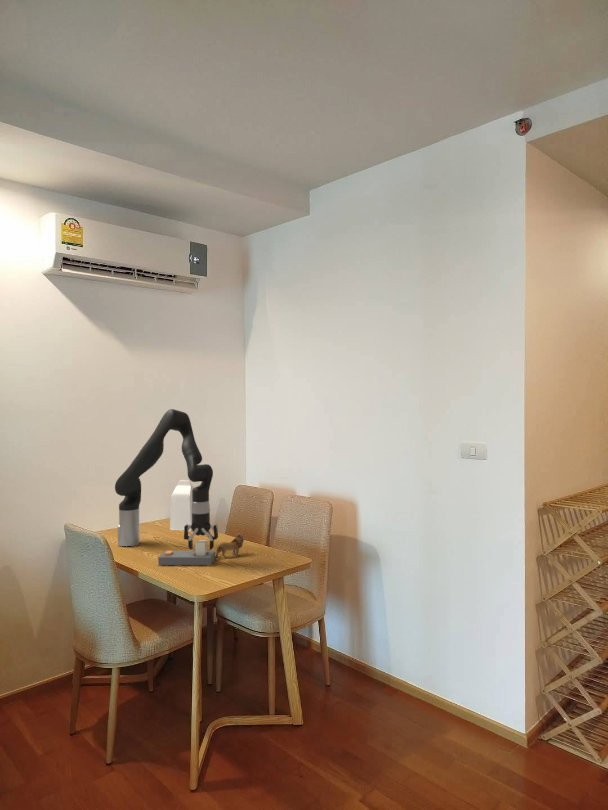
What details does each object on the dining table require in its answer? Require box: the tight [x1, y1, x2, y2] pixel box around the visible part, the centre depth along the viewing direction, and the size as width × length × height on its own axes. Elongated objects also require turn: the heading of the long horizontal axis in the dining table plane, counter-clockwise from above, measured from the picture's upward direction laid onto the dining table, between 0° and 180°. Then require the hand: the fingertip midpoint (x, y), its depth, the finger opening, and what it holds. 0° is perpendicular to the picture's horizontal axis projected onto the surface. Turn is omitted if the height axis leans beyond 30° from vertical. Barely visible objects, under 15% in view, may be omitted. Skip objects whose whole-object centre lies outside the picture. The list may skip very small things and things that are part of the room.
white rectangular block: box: [195, 539, 208, 556], centre depth 230 cm, size 4×4×9 cm
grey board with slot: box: [157, 550, 216, 567], centre depth 230 cm, size 22×10×4 cm, turn 88°
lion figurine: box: [215, 533, 245, 559], centre depth 238 cm, size 15×5×9 cm, turn 130°
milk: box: [169, 479, 195, 532], centre depth 290 cm, size 12×12×26 cm
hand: (201, 549), depth 230 cm, fingers open, 8 cm apart
